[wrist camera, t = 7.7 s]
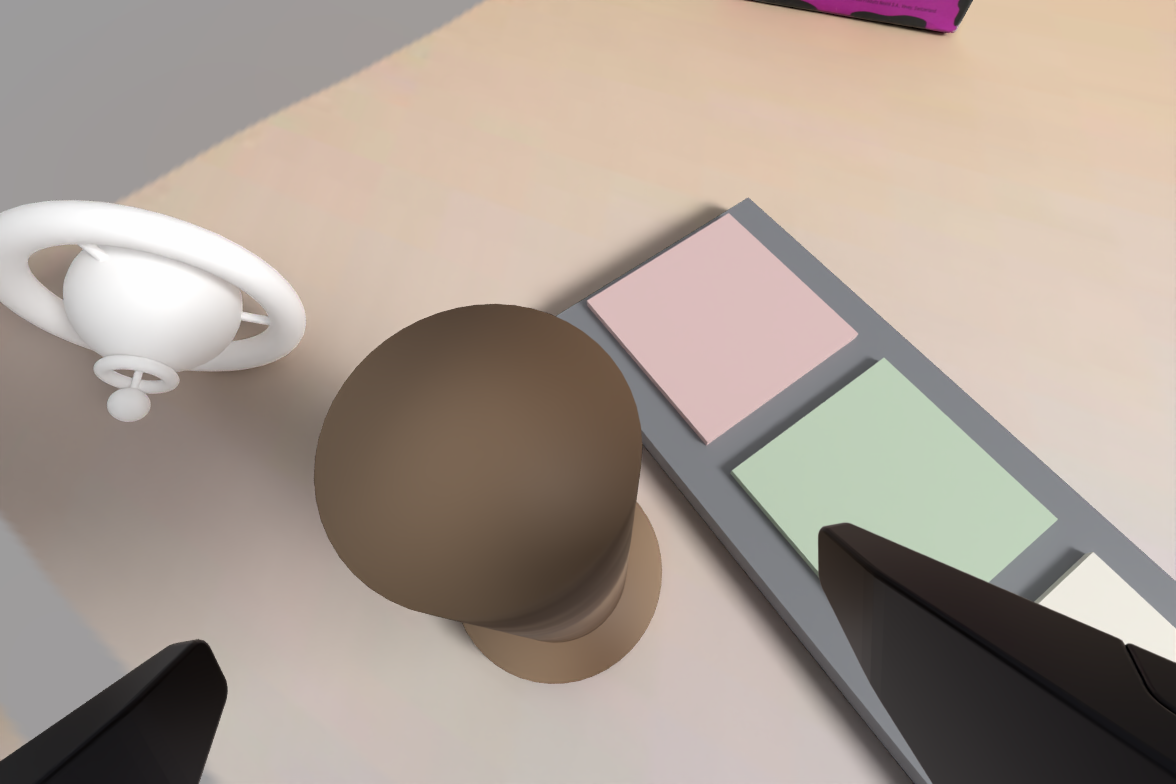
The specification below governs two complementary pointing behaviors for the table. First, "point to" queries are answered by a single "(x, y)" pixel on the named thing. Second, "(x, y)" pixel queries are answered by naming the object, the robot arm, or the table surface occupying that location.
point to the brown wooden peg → (496, 488)
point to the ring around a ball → (146, 295)
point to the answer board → (845, 446)
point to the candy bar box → (892, 11)
